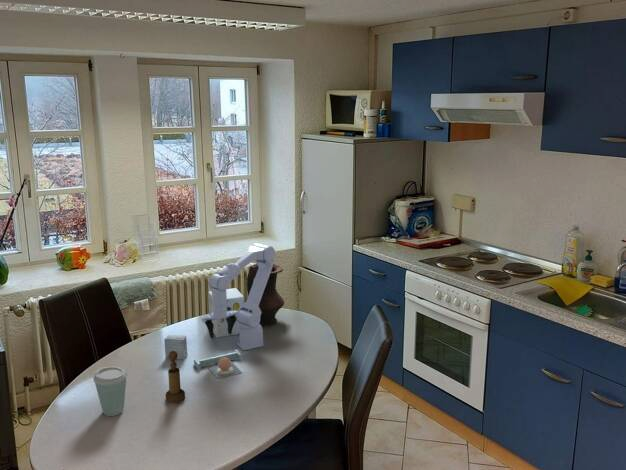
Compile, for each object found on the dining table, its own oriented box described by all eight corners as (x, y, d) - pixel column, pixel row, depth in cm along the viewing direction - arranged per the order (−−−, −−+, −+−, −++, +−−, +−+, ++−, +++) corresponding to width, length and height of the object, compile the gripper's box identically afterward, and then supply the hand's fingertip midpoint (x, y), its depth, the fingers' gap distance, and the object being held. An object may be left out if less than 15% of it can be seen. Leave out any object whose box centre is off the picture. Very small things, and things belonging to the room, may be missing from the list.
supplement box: (216, 337, 255) (214, 300, 251) (209, 327, 267) (207, 291, 263) (245, 333, 260) (244, 296, 256) (237, 322, 272) (236, 287, 268)
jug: (260, 312, 286) (258, 253, 278) (292, 319, 277) (291, 258, 270) (233, 326, 268) (231, 264, 261) (266, 334, 259) (265, 270, 252)
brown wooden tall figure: (168, 405, 200) (165, 357, 196) (163, 397, 205) (160, 350, 201) (187, 401, 203) (184, 353, 199) (182, 392, 208) (179, 346, 204)
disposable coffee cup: (129, 401, 202) (125, 361, 199) (130, 417, 193) (127, 375, 189) (96, 406, 199) (92, 366, 195) (96, 423, 189) (92, 381, 186)
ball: (225, 365, 229) (226, 354, 228) (233, 370, 225) (233, 358, 224) (215, 369, 225) (215, 357, 224) (223, 373, 222) (223, 361, 221)
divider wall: (236, 355, 238) (236, 349, 238) (241, 360, 234) (241, 354, 234) (194, 364, 230) (193, 359, 229) (198, 369, 226) (197, 364, 225)
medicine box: (187, 354, 239) (186, 335, 237) (184, 359, 234) (183, 339, 232) (169, 354, 239) (167, 334, 237) (165, 358, 235) (164, 338, 233)
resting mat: (232, 362, 232) (232, 362, 232) (242, 372, 223) (242, 372, 223) (208, 368, 227) (208, 367, 227) (217, 378, 219) (217, 378, 219)
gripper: (232, 297, 238) (233, 328, 241) (198, 303, 231) (200, 335, 234) (239, 303, 232) (240, 334, 235) (204, 309, 225) (206, 341, 229)
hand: (220, 335), depth 235 cm, fingers open, 7 cm apart
